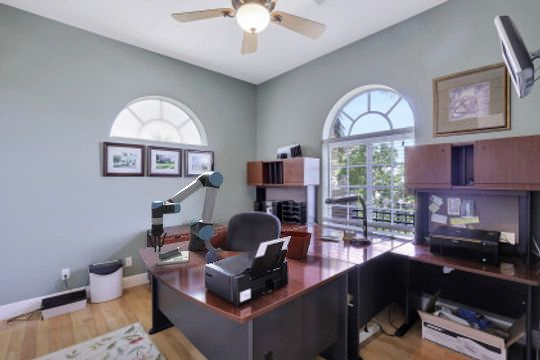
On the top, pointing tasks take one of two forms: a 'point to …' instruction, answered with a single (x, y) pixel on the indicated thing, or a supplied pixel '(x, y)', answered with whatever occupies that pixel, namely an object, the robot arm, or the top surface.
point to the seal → (211, 251)
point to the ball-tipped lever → (170, 253)
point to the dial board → (175, 258)
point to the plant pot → (297, 243)
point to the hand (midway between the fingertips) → (157, 256)
